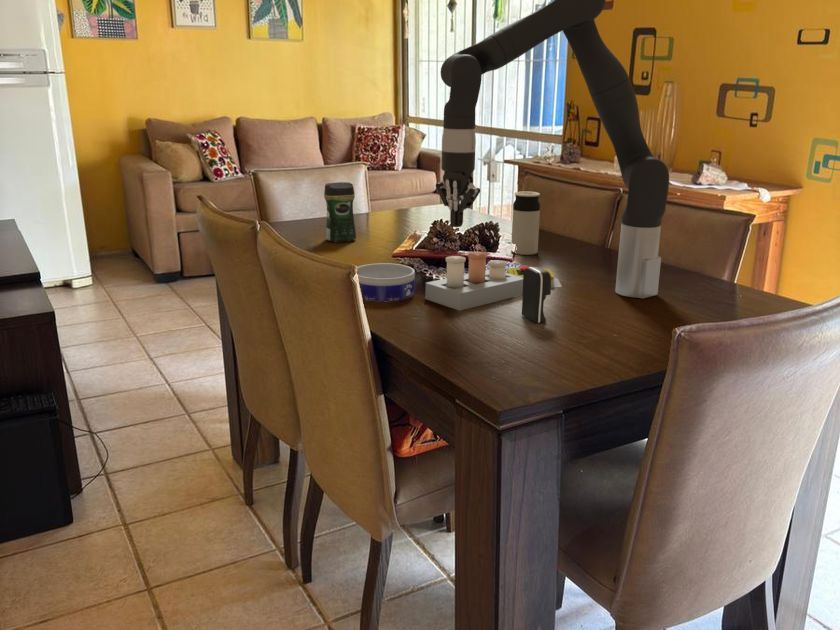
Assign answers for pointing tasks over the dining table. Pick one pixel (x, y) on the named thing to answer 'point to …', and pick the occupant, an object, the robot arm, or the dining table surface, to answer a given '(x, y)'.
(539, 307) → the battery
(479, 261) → the terracotta plug
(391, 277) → the dog bowl
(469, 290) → the board
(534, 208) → the travel mug
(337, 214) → the coffee jar
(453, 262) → the ivory plug
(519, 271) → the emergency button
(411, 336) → the dining table surface
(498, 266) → the ivory plug
